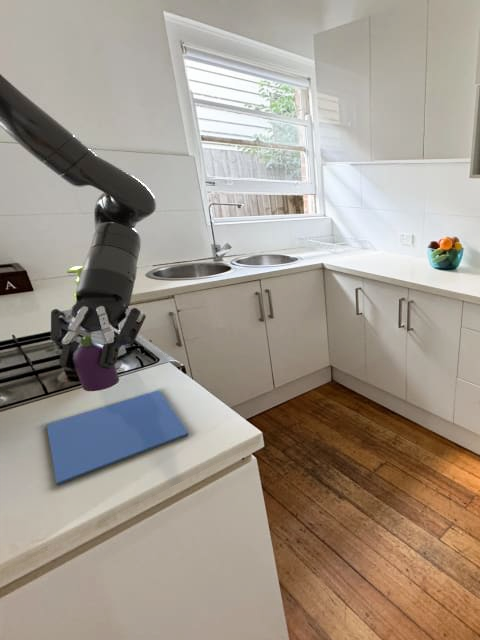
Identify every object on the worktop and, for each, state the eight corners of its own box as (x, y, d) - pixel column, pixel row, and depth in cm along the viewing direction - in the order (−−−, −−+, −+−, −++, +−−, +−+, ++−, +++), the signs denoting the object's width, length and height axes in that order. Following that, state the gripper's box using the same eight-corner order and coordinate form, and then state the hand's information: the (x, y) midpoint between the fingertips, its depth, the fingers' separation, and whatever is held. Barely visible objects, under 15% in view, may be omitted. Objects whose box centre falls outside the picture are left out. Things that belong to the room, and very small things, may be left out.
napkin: (47, 425, 70) (46, 423, 70) (159, 391, 82) (158, 390, 82) (57, 485, 57) (56, 483, 57) (188, 434, 69) (188, 432, 69)
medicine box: (127, 353, 98) (117, 322, 94) (111, 361, 94) (100, 328, 90) (102, 349, 100) (92, 318, 96) (85, 357, 96) (74, 324, 92)
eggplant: (75, 392, 63) (57, 344, 60) (94, 377, 68) (78, 332, 64) (108, 390, 64) (92, 343, 60) (125, 376, 68) (110, 331, 65)
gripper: (48, 266, 64) (18, 362, 58) (140, 266, 66) (120, 359, 60) (79, 288, 71) (55, 376, 65) (162, 287, 73) (146, 372, 67)
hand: (86, 367), depth 62 cm, fingers closed on eggplant, 5 cm apart
